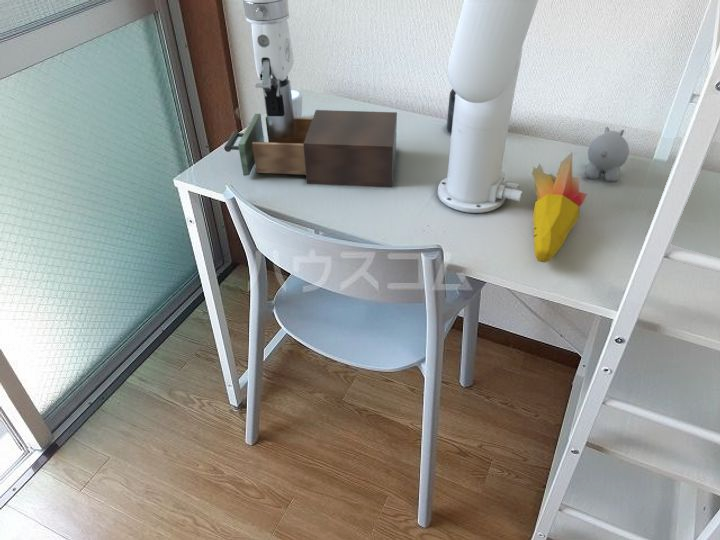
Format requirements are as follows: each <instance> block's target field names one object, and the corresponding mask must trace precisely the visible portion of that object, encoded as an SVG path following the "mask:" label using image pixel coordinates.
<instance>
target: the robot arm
mask: <svg viewBox="0 0 720 540" xmlns="http://www.w3.org/2000/svg"><path fill="white" fill-rule="evenodd" d="M242 2H243V8H244V14H245V21H246V22H247V23H250V25H251V37H252V49H253V57H254V63H255V71H256V74H257V78H258V80H260V81H261V83H262V88H261V89H262V90H263V89H264V94H263V97H264V96H265V100H264V103H265V102H266V107H265V110H266V109H267V114H266V116H267V115H268V116H284V114H285V113H284V104H283V96H282V95H280V80H281V81H284V80H285V79H288V80H289V74H290V72H291V70H292V68H293V66H294V54H293V47H292V46H293V45H292V40H291V33H290V27H289V22H288V19H289V18H290V8H289V0H242ZM538 2H539V0H463V4H462V7H461V11H460V15H459V19H458V23H457V27H456V30H455V34H454V38H453V42H452V46H451V50H450V53H449V58H448V62H447V63H448V64H447V77H448V82H449V84H450V87H451V89H453V90H454V91H455V92H456V95H455V104H454V114H453V123H452V134H451V133H450V134H451V136H450V145H449V155H448V167H447V176H446V177H445V178H443V179H442V180H441V181H439V184H438V187H437V196H438V198H439V201H441V202H442V203H443V204H444V205H446V206H447V207H449V208H451V209H454V210H456V211H458V212H459V211H460V212H464V213H473V214H480V213H482V214H483V213H488V212H492V211H494V210H496V209H498V208H500V207H501V206H502V205H503V204H504V203H505V201H506V199H509V200H510V201H511V200H512V201H516V202H521V200H522V197H523V190H520V189H519V187H520V184H519V183H515V182H509V181H507V180H506V179H505V176H506V172H504V171H502V169H503V162H504V157H505V153H506V152H505V151H506V145H507V139H508V134H509V133H508V132H509V125H510V121H511V116H512V110H513V103H514V98H515V93H516V87H517V81H518V76H519V72H520V67H521V62H522V56H523V46H524V43H525V40H526V36H527V34H528V32H529V29H530V26H531V23H532V20H533V16H534V15H535V12H536V8H537V5H538ZM271 82H275V83H276V88H275V86H274V85H272V84H271Z"/></svg>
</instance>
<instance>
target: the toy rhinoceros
mask: <svg viewBox="0 0 720 540" xmlns="http://www.w3.org/2000/svg"><path fill="white" fill-rule="evenodd" d="M624 132H625V129H620V130H619V131H616V130H611V129H610V127H609V126H605V128H604V133H601V134H599V135H598V136H596V137H595V138H594V139H593V140H591V142H590V144H589V146H588V150H587V158H588V160H589V161H588V164H587V168H586V170H585V172H584V175H585V177H586V178H588V179H590V180H597V179H598V178H599V177H600V174H601V175H604V180H606V181H607V182H608V183H609V182H610V183H615V182H617V181H618V180H619V178H620V174H621V173H620V169H621V167H622V166H623V165H625V163H626V161H627V160H628V157H629V156H630V155H629V154H630V146H629V144H628V143H629V142H627V140H626V139H625V138H624V137H623V135H624Z"/></svg>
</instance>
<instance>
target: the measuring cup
mask: <svg viewBox="0 0 720 540" xmlns="http://www.w3.org/2000/svg"><path fill="white" fill-rule="evenodd" d="M271 84H272V85H274V86H275V88H276V83H275V82H271ZM291 85H292V84H291V81H290V80H289V78H288V79H285V80H284V81H281V80H280V95H282V96H283V104H284V113H285V114H284V116H268V115H267V109H266V102H265V96H264V89H263V88H262V82H257V83H255V85H254V86H255V88H256V89H257V88H258V89H260V88H261V89H262V93H263V99H264V107H265V113H266V116H267V121H268V128H269V134H270V136H271V137H274V138H288V137H291V136H293V135H294V134H295V132H296V129H295V121H294V112H293V103H292V94H291V89H292V88H291V87H292V86H291Z"/></svg>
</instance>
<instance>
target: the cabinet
mask: <svg viewBox="0 0 720 540" xmlns="http://www.w3.org/2000/svg"><path fill="white" fill-rule="evenodd" d="M312 118H313V119H312V122H311V125H310V127H309V130H308V133H307V135H306V138H305V141H304V143H303V145H304V156H305V168H306V175H305V178H306V184H307V185H308V184H309V185H310V184H311V185H333V186H335V185H337V186H360V187H384V188H385V187H386V188H393V181H394V172H395V163H396V153H397V130H398V129H397V128H398V127H397V124H398V112H396V111H395V112H394V111H366V110H365V111H362V110H361V111H360V110H331V109H329V110H328V109H315V111H314V113H313V117H312Z"/></svg>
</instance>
